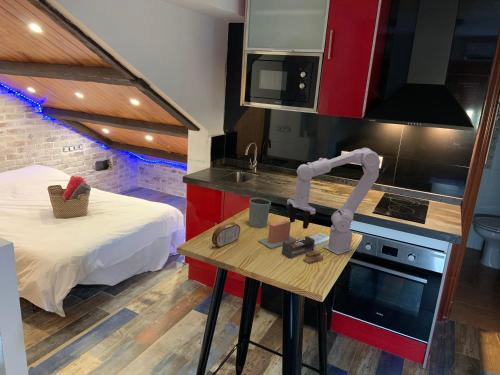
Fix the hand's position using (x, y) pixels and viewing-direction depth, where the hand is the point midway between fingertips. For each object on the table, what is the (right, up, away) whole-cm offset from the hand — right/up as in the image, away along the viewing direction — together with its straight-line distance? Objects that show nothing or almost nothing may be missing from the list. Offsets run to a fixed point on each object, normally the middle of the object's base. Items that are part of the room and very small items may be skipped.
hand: (298, 225), depth 155 cm
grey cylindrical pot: (-16, -2, +23) cm, 29 cm away
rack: (-1, -11, -4) cm, 11 cm away
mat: (-8, -8, +5) cm, 12 cm away
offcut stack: (+4, -13, -10) cm, 17 cm away
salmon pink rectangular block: (-8, -7, +5) cm, 12 cm away
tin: (-30, -8, -1) cm, 31 cm away
